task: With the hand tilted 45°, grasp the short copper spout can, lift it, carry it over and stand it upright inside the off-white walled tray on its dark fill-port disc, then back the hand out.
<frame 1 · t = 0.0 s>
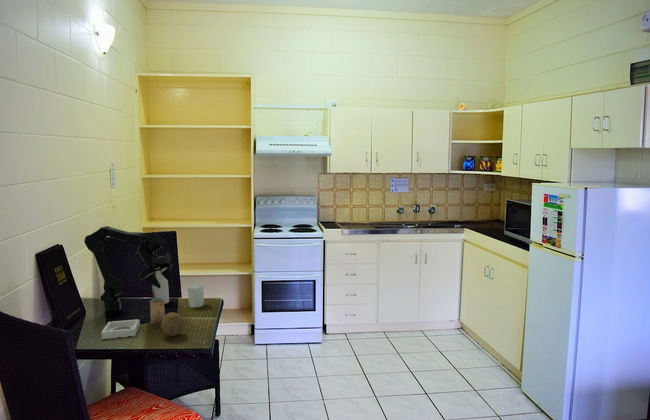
hand: (165, 285, 233), 15 cm above the table, tool tilted 35°, fingers open, 9 cm apart
white cup: (196, 306, 250), on the table
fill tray: (121, 332, 215), on the table
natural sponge: (172, 336, 210), on the table
spout can: (158, 322, 227), on the table
milk bottle: (161, 303, 256), on the table
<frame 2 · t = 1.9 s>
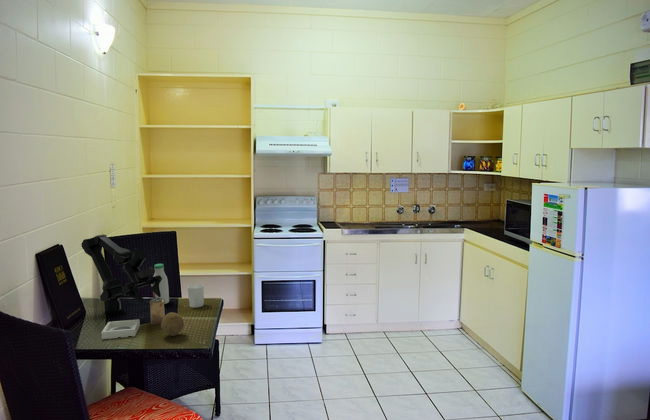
hand: (152, 299, 227), 10 cm above the table, tool tilted 45°, fingers open, 9 cm apart
nothing on the table moved.
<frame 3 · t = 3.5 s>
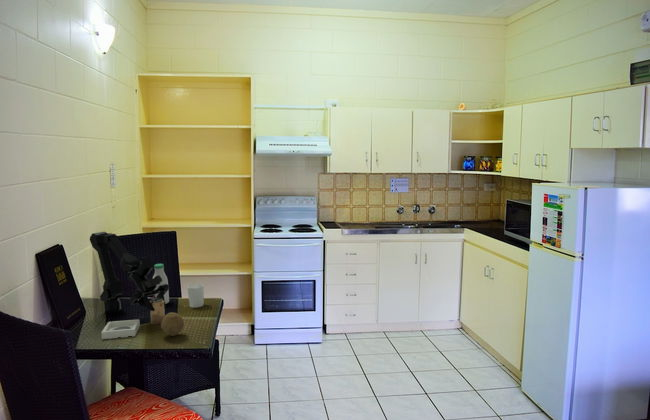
hand: (159, 308, 225), 7 cm above the table, tool tilted 45°, fingers closed on spout can, 6 cm apart
spout can: (158, 322, 227), on the table, touching gripper
everything else where it was.
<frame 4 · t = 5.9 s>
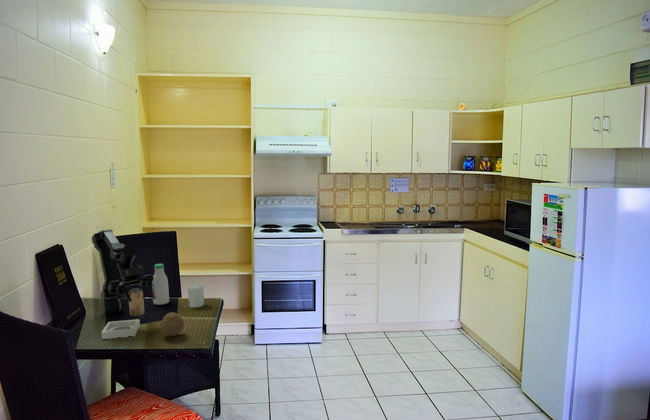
hand: (137, 299, 216), 13 cm above the table, tool tilted 45°, fingers closed on spout can, 6 cm apart
spout can: (137, 313, 218), point 7 cm above the table, touching gripper
everything else where it was.
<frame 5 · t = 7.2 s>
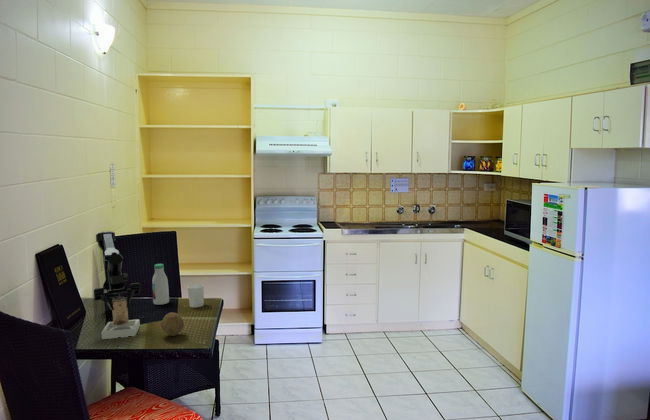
hand: (120, 308, 213), 11 cm above the table, tool tilted 45°, fingers closed on spout can, 6 cm apart
spout can: (120, 322, 215), point 4 cm above the table, touching gripper
everything else where it was.
when the fingers open (9 cm above the table, at t = 8.1 s): spout can drops 1 cm, resting on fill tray.
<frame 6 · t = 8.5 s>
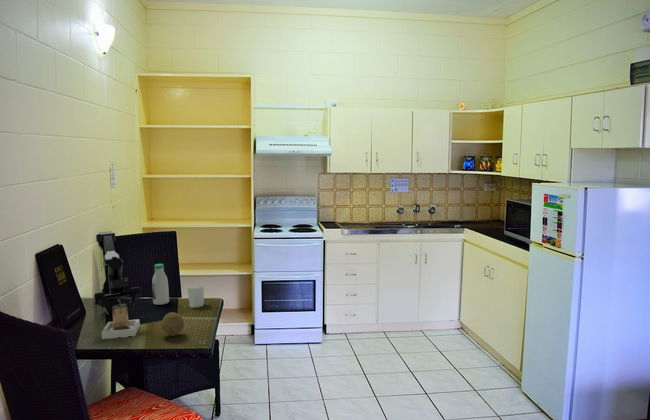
hand: (120, 312, 213), 9 cm above the table, tool tilted 45°, fingers open, 9 cm apart
spout can: (121, 329, 215), point 1 cm above the table, touching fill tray
everything else where it was.
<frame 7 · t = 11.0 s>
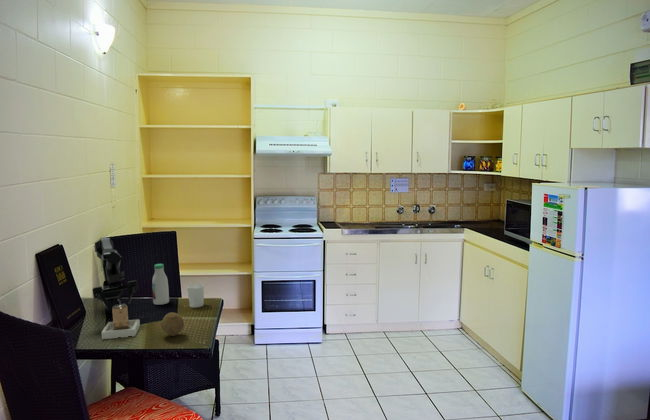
hand: (118, 306, 221), 9 cm above the table, tool tilted 45°, fingers open, 9 cm apart
nothing on the table moved.
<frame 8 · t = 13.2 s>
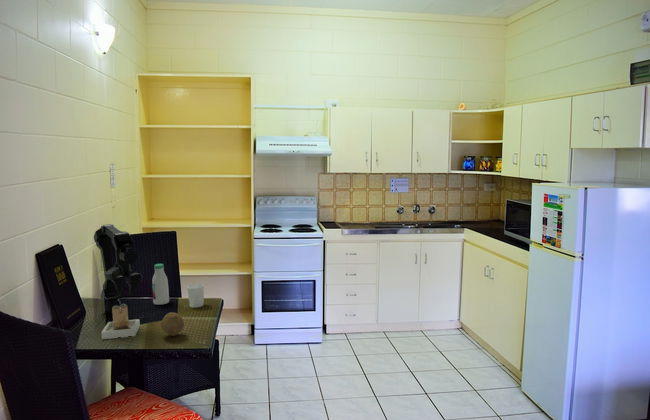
hand: (125, 293, 227), 13 cm above the table, tool pointing down, fingers open, 9 cm apart
nothing on the table moved.
at the end: spout can 0.1 cm off-centre on the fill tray, point 1.2 cm above the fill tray's base; spout can tilted 0°; the gripper is holding nothing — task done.
